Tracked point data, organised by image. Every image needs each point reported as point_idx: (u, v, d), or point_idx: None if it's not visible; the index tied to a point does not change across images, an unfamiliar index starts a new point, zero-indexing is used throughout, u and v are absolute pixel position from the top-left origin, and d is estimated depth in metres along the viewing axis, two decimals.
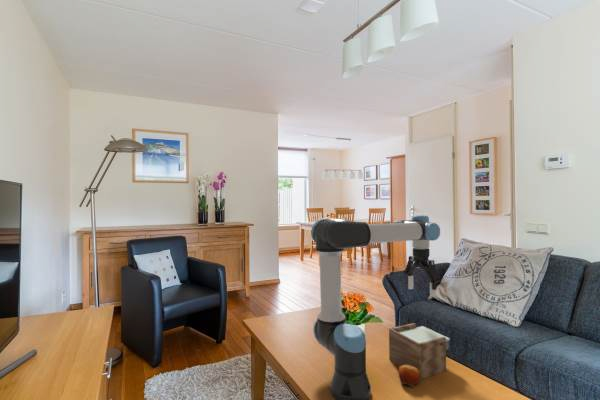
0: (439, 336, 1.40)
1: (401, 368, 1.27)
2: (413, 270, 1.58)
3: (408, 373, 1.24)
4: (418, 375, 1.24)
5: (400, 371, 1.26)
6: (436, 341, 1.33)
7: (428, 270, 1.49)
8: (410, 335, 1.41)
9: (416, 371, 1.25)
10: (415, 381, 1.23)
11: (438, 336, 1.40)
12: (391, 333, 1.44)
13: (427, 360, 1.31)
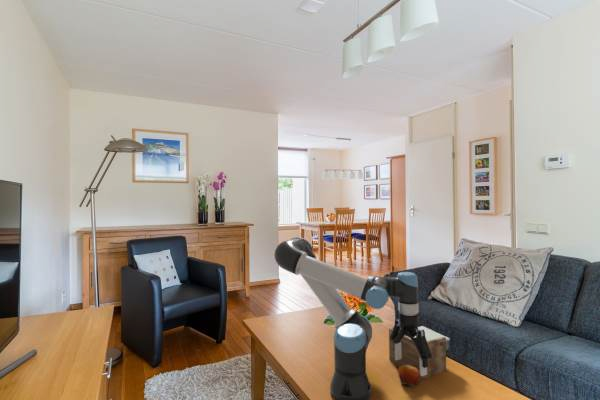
0: (439, 336, 1.40)
1: (401, 368, 1.27)
2: (400, 337, 1.31)
3: (408, 373, 1.24)
4: (418, 375, 1.24)
5: (400, 371, 1.26)
6: (436, 341, 1.33)
7: (417, 342, 1.22)
8: None
9: (416, 371, 1.25)
10: (415, 381, 1.23)
11: (438, 336, 1.40)
12: (391, 333, 1.44)
13: None
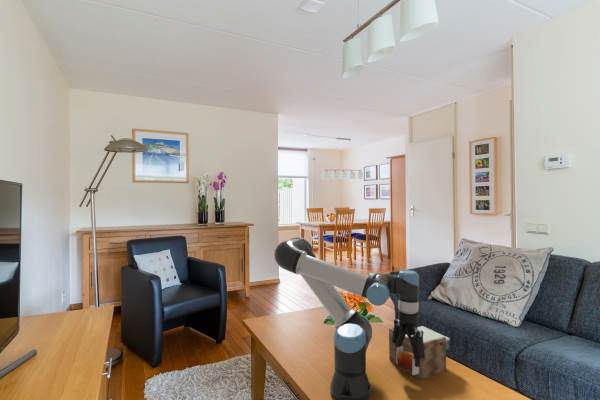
0: (439, 336, 1.40)
1: (399, 354, 1.27)
2: (401, 338, 1.30)
3: (406, 359, 1.24)
4: None
5: (398, 357, 1.26)
6: (436, 341, 1.33)
7: (414, 341, 1.23)
8: None
9: None
10: None
11: (438, 336, 1.40)
12: (391, 333, 1.44)
13: (427, 360, 1.31)
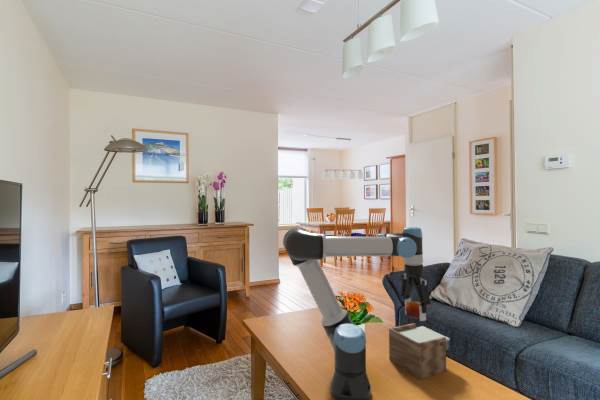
0: (439, 336, 1.40)
1: (407, 304, 1.38)
2: (409, 291, 1.41)
3: (414, 307, 1.35)
4: None
5: (407, 306, 1.37)
6: (436, 341, 1.33)
7: (420, 290, 1.34)
8: (410, 335, 1.41)
9: None
10: None
11: (438, 336, 1.40)
12: (391, 333, 1.44)
13: (427, 360, 1.31)
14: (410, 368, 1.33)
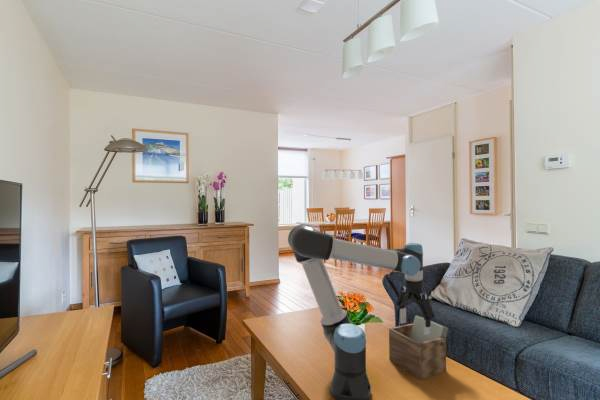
0: (434, 329, 1.39)
1: None
2: (405, 302, 1.44)
3: None
4: None
5: None
6: (436, 341, 1.33)
7: (421, 305, 1.35)
8: None
9: None
10: None
11: (433, 330, 1.39)
12: (391, 333, 1.44)
13: (427, 360, 1.31)
14: (410, 368, 1.33)
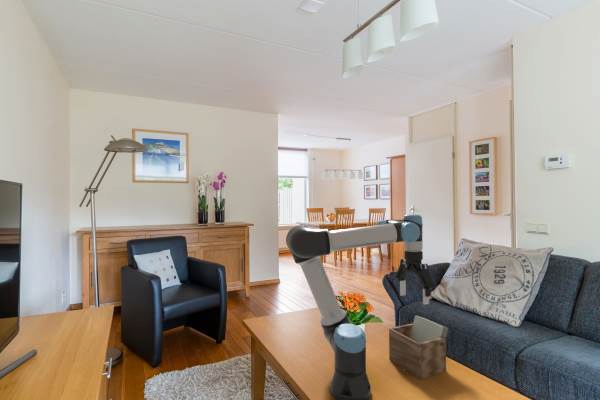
0: (434, 329, 1.39)
1: None
2: (405, 274, 1.44)
3: None
4: None
5: None
6: (436, 341, 1.33)
7: (421, 275, 1.35)
8: None
9: None
10: None
11: (433, 330, 1.39)
12: (391, 333, 1.44)
13: (427, 360, 1.31)
14: (410, 368, 1.33)
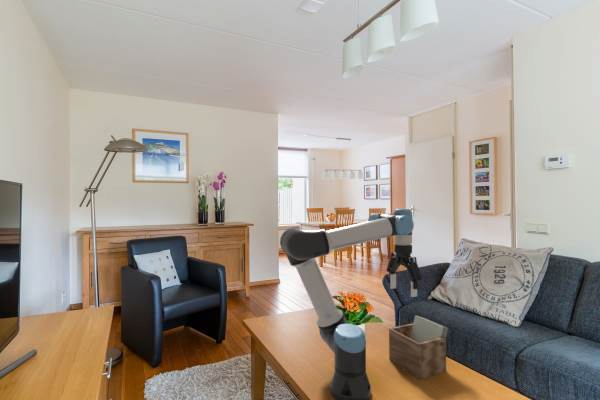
0: (434, 329, 1.39)
1: None
2: (395, 268, 1.47)
3: None
4: None
5: None
6: (436, 341, 1.33)
7: (410, 268, 1.38)
8: None
9: None
10: None
11: (433, 330, 1.39)
12: (391, 333, 1.44)
13: (427, 360, 1.31)
14: (410, 368, 1.33)
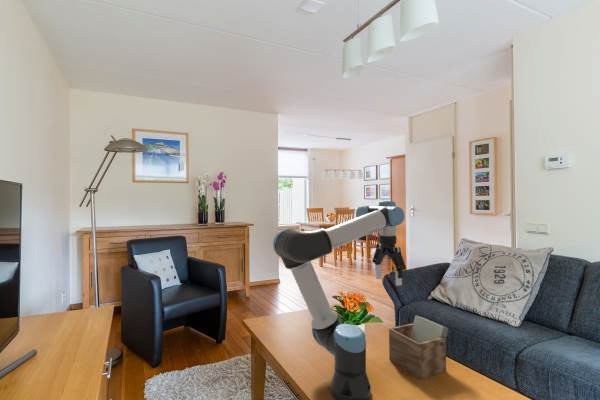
0: (434, 329, 1.39)
1: None
2: (381, 258, 1.51)
3: None
4: None
5: None
6: (436, 341, 1.33)
7: (394, 258, 1.42)
8: None
9: None
10: None
11: (433, 330, 1.39)
12: (391, 333, 1.44)
13: (427, 360, 1.31)
14: (410, 368, 1.33)
